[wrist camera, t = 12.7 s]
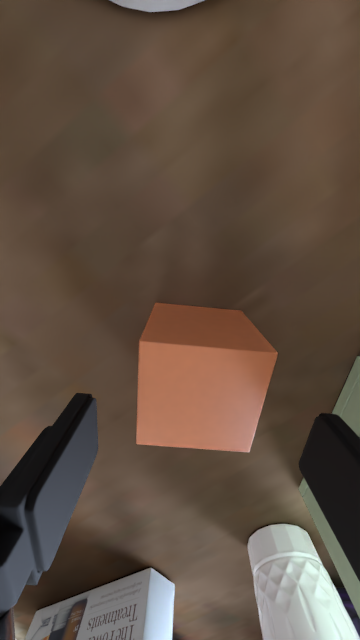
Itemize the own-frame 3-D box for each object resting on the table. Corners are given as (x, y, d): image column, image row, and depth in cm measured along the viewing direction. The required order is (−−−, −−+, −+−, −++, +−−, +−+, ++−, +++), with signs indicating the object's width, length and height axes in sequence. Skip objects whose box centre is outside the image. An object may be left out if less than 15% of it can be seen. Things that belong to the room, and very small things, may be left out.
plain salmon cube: (155, 302, 14) (138, 341, 8) (241, 310, 14) (278, 353, 9) (151, 375, 16) (135, 444, 10) (226, 381, 16) (249, 452, 11)
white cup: (320, 551, 24) (411, 751, 15) (253, 565, 25) (297, 760, 16) (305, 511, 21) (403, 722, 12) (231, 529, 23) (268, 735, 13)
